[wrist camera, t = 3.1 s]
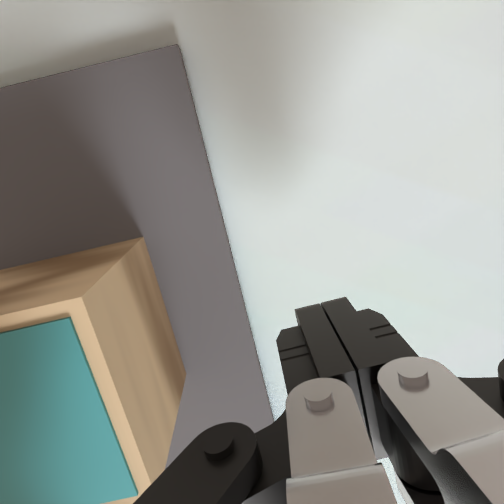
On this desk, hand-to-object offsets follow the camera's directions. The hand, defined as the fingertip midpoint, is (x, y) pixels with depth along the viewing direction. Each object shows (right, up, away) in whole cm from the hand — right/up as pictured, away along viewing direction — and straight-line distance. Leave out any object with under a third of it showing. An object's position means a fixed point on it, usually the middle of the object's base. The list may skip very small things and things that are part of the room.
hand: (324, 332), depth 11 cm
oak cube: (-8, -1, +4) cm, 9 cm away
